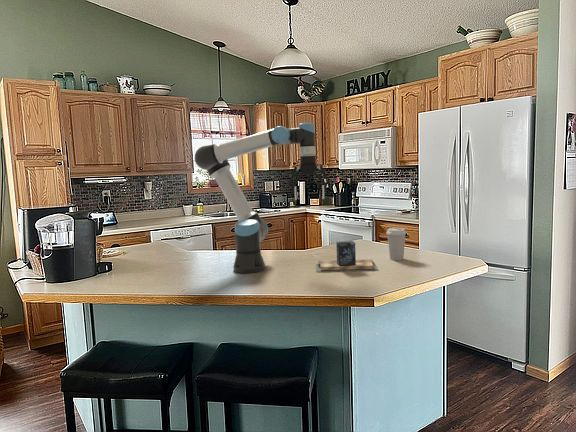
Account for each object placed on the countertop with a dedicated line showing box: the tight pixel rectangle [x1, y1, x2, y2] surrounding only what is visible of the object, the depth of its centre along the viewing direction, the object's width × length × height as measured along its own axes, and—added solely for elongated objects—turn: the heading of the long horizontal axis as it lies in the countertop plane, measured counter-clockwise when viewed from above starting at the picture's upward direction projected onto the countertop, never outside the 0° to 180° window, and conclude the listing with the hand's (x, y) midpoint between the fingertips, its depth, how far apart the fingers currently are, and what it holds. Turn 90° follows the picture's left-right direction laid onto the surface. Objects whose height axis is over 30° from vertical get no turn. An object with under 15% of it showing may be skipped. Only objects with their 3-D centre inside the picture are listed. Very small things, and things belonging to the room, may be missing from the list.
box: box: [336, 240, 357, 266], centre depth 203 cm, size 8×6×11 cm
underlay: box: [315, 262, 379, 273], centre depth 206 cm, size 28×15×1 cm, turn 86°
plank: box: [320, 262, 374, 270], centre depth 203 cm, size 24×8×2 cm, turn 86°
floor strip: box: [317, 258, 375, 267], centre depth 210 cm, size 26×6×2 cm, turn 86°
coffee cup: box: [385, 227, 407, 261], centre depth 218 cm, size 10×10×15 cm
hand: (309, 199), depth 215 cm, fingers open, 13 cm apart
